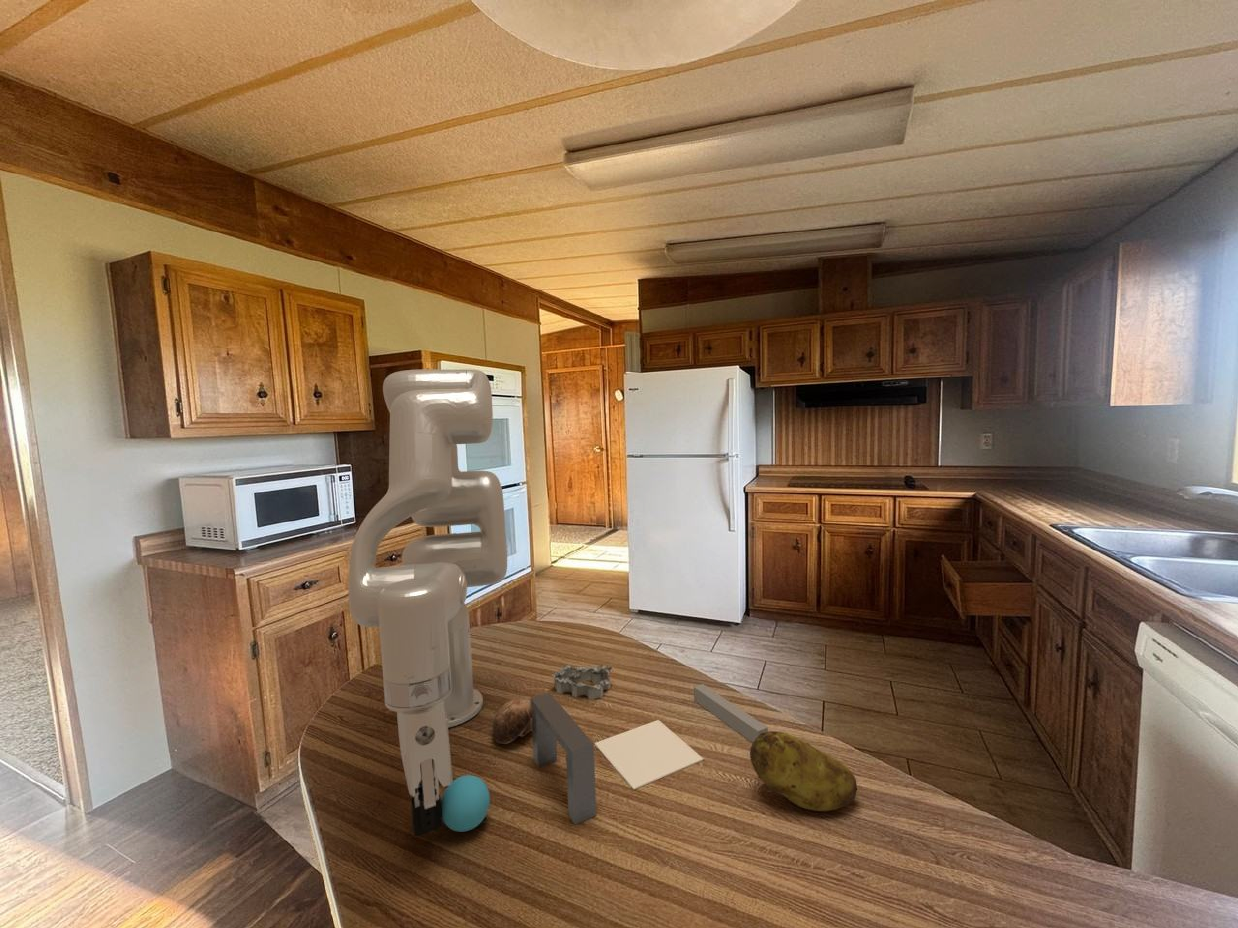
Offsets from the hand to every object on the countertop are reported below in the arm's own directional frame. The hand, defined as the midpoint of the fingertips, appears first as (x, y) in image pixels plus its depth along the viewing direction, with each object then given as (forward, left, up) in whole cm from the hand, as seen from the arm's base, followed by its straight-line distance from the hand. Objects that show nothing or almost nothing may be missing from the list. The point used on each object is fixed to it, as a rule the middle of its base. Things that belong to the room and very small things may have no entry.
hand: (427, 827), depth 64 cm
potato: (+19, +44, -2) cm, 48 cm away
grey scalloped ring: (-23, +32, -2) cm, 39 cm away
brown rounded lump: (-15, +16, -2) cm, 22 cm away
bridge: (0, +18, -2) cm, 18 cm away
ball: (0, +5, +2) cm, 5 cm away
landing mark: (0, +32, -2) cm, 32 cm away
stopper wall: (0, +48, -2) cm, 48 cm away
